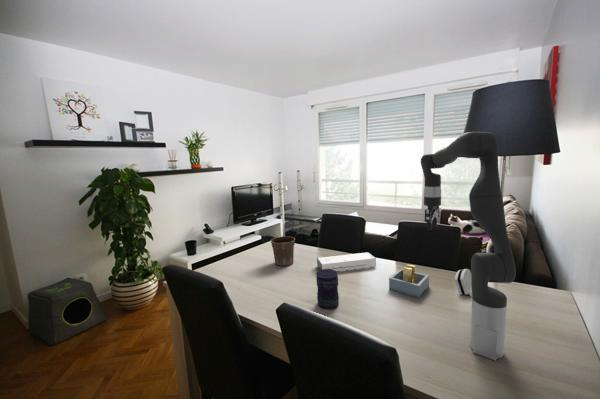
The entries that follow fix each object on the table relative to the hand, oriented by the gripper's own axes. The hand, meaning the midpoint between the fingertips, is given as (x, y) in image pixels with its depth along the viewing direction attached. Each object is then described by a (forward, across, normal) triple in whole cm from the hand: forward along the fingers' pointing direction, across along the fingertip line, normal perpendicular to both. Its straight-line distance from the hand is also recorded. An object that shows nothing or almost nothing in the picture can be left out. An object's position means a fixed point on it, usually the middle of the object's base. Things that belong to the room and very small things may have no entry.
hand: (431, 228), depth 130 cm
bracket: (+29, -8, +8) cm, 31 cm away
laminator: (+31, -2, +49) cm, 58 cm away
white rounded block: (+30, +8, -14) cm, 34 cm away
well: (+30, -8, +8) cm, 32 cm away
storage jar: (+30, -45, +31) cm, 62 cm away
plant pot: (+30, -21, +85) cm, 93 cm away
